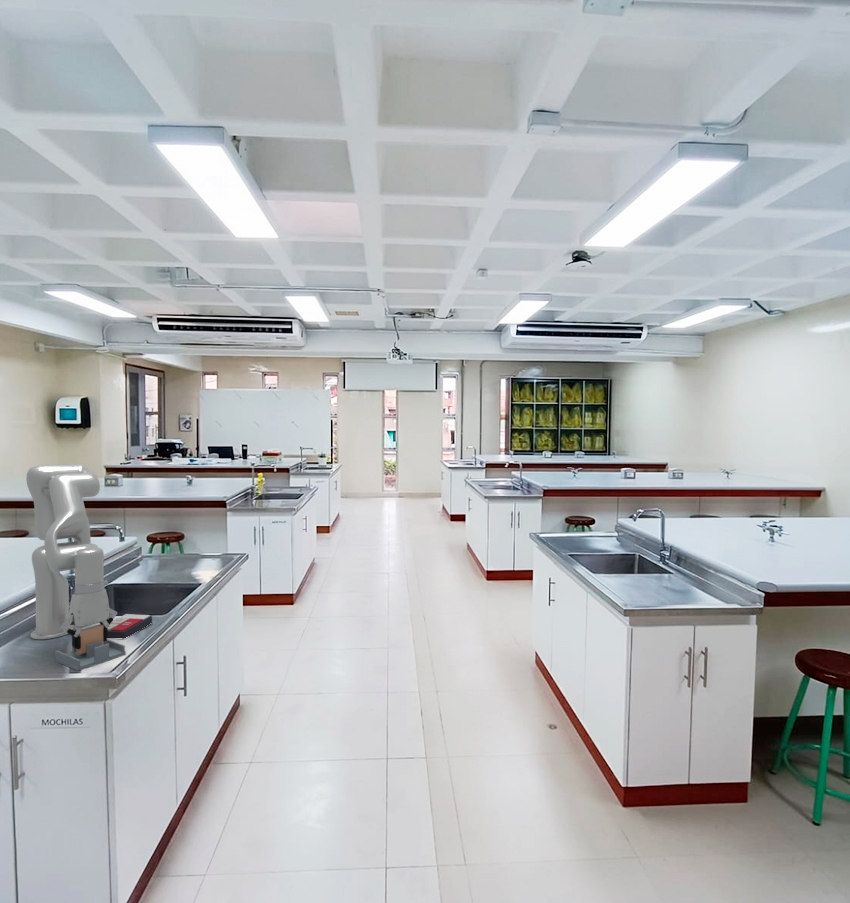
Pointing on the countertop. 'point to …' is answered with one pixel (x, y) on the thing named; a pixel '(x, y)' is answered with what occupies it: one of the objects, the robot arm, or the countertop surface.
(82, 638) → the tile
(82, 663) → the rack
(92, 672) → the countertop surface
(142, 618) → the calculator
